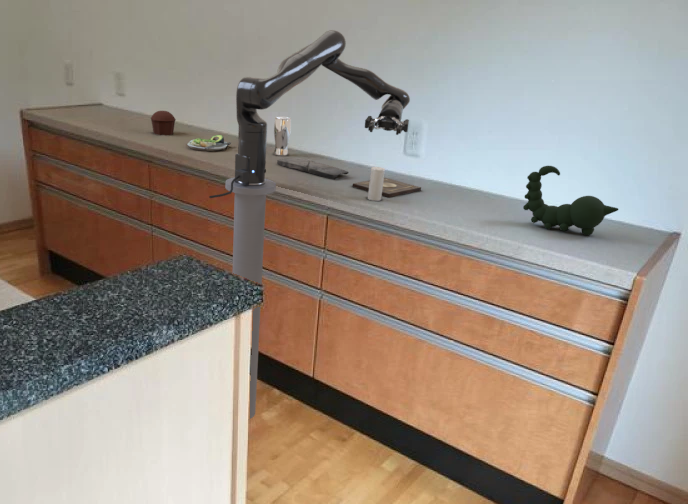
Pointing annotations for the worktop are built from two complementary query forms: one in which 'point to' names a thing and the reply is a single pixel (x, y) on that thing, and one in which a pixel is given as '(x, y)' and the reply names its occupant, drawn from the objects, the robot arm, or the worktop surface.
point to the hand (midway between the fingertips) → (384, 130)
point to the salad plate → (209, 144)
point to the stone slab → (312, 167)
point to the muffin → (163, 123)
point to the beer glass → (282, 135)
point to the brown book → (390, 187)
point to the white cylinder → (376, 183)
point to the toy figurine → (564, 207)
